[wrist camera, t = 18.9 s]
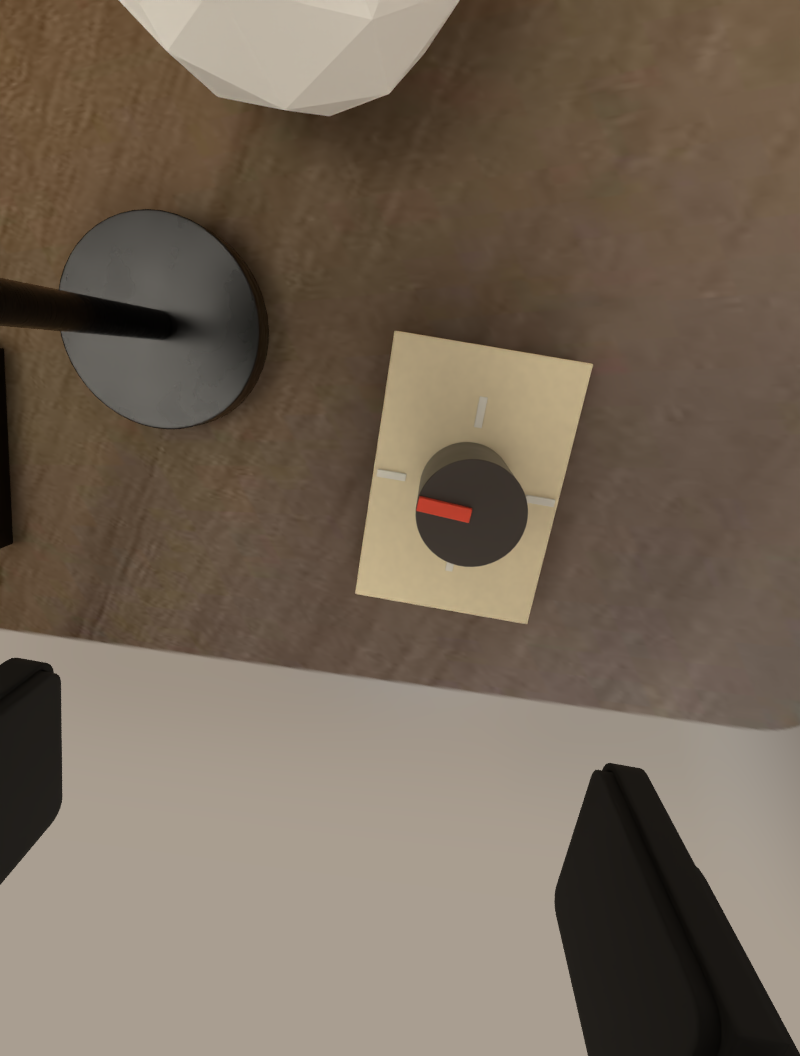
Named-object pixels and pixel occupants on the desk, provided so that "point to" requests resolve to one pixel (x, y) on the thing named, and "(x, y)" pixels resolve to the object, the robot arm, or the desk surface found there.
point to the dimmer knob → (470, 505)
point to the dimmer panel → (480, 417)
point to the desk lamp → (153, 318)
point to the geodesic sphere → (295, 46)
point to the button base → (4, 465)
